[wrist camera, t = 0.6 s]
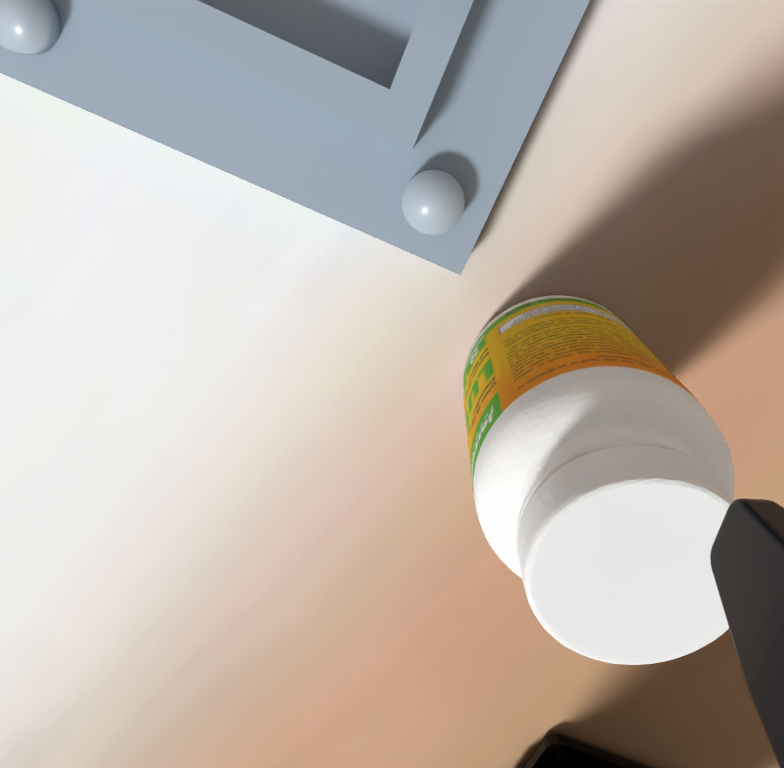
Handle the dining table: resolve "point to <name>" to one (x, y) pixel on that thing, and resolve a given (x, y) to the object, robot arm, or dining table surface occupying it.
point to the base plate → (316, 95)
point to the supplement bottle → (597, 481)
